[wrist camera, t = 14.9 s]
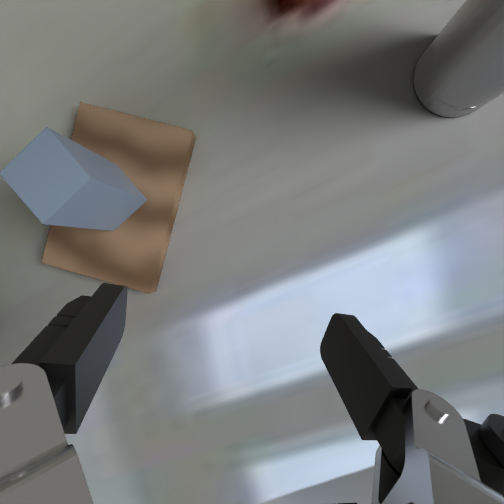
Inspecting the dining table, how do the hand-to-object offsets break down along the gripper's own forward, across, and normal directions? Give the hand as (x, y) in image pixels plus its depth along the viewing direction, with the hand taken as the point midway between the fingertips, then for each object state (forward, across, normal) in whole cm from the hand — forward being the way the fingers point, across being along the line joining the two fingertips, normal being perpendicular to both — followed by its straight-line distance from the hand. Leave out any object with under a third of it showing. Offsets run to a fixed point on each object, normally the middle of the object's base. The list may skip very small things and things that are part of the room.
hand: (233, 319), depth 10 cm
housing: (+25, +12, +3) cm, 28 cm away
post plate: (+27, +12, +3) cm, 29 cm away
